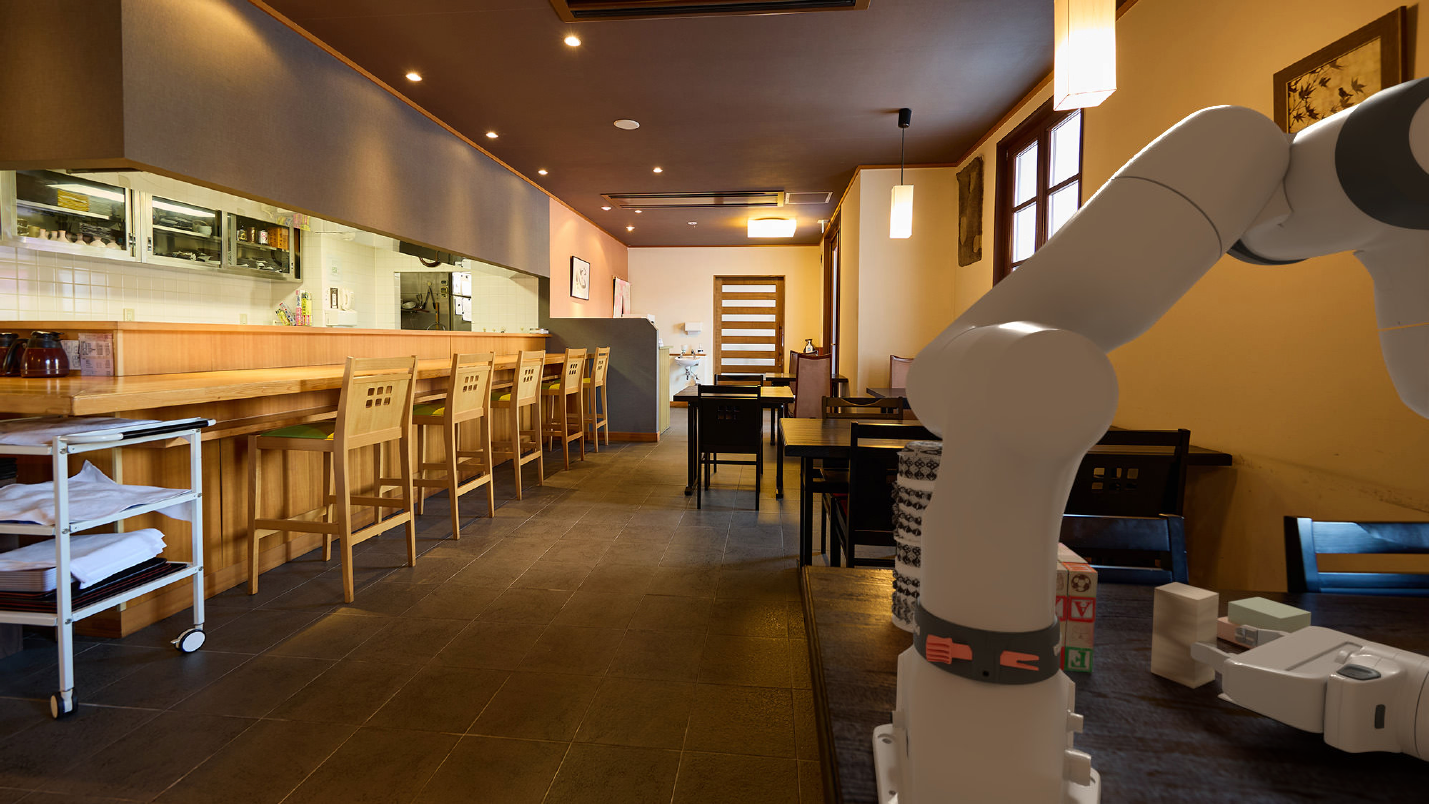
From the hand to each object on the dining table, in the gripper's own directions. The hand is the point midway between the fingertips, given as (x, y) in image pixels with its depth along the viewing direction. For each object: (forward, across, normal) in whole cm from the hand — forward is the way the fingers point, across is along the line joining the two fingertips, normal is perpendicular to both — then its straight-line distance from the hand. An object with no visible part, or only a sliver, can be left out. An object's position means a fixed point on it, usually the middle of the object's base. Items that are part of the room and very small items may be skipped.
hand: (1216, 640), depth 73 cm
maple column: (+3, 0, +6) cm, 6 cm away
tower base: (+3, -20, +6) cm, 21 cm away
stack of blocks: (+19, +4, +6) cm, 20 cm away
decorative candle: (+29, +15, +6) cm, 33 cm away
